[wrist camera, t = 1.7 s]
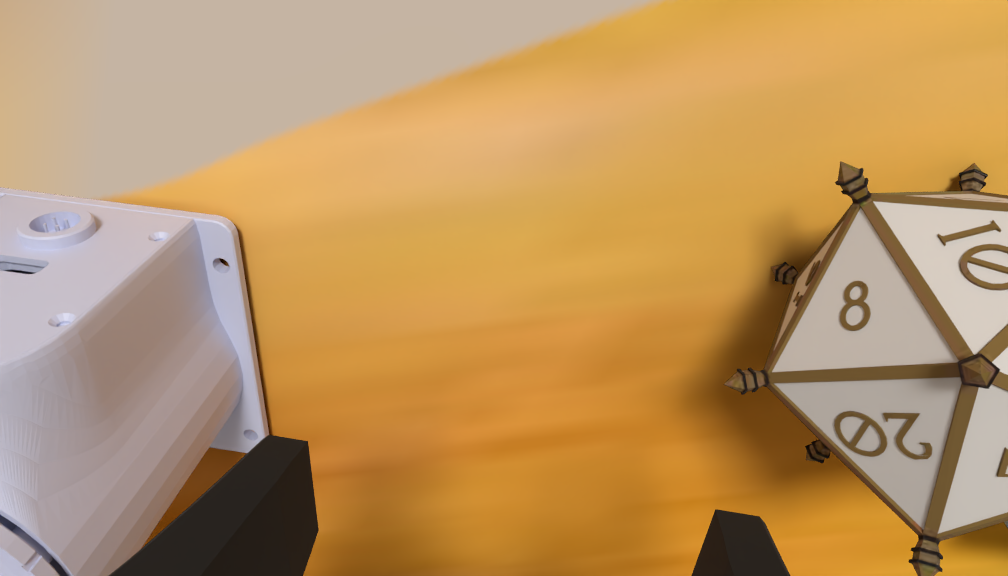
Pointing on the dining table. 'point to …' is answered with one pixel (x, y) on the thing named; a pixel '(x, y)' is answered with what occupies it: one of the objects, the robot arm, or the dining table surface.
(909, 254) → the game die
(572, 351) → the dining table surface
